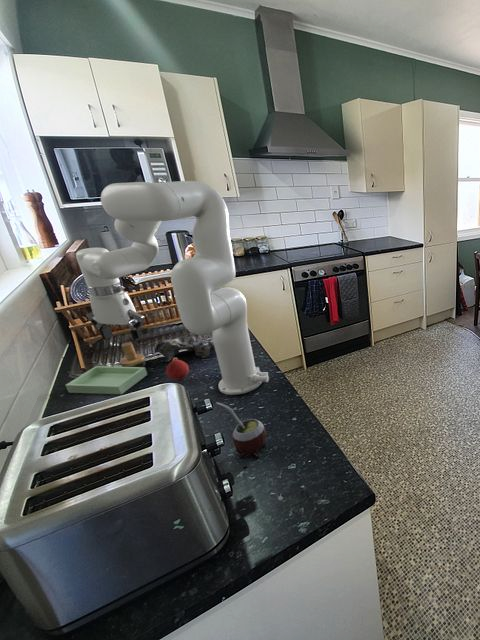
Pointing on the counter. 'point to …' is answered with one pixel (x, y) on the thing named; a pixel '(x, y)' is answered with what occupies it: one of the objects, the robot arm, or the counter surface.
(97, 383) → the tray
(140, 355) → the brush
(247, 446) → the mate gourd
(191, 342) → the foil
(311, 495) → the counter surface
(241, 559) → the counter surface
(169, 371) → the onion
